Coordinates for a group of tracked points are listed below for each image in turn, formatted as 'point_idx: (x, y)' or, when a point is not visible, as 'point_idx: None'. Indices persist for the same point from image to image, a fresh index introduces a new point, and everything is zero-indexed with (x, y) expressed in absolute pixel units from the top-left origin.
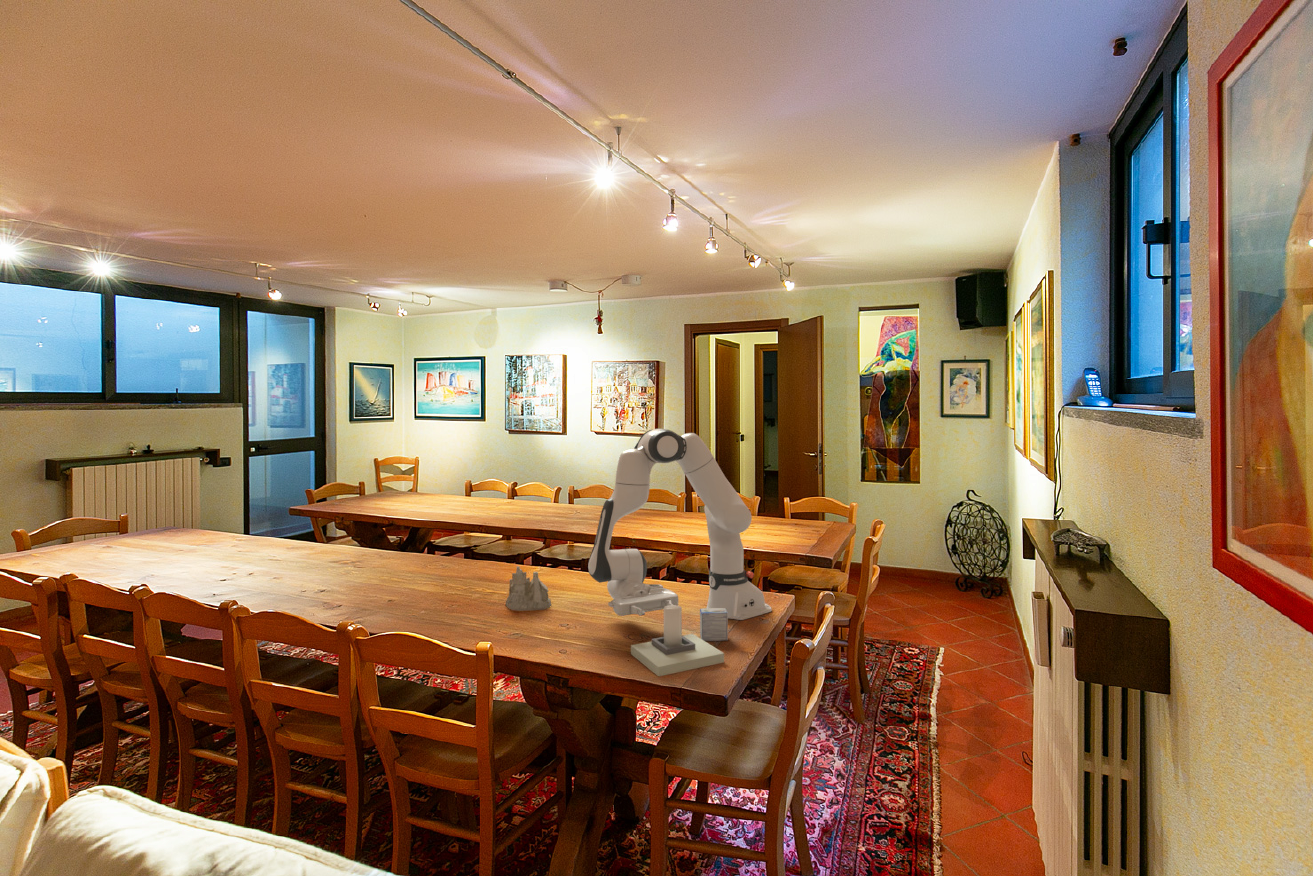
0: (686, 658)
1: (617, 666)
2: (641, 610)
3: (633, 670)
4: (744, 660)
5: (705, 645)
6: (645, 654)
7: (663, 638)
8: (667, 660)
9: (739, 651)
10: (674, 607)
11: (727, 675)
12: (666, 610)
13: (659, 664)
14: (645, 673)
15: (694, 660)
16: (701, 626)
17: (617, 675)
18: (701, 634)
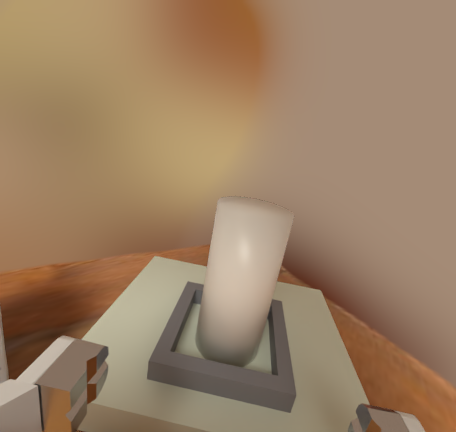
0: None
1: (434, 418)
2: (397, 411)
3: (373, 362)
4: (115, 260)
5: (141, 292)
6: (338, 351)
7: (241, 368)
8: (288, 296)
9: (63, 280)
10: (246, 205)
11: (197, 254)
12: (289, 212)
13: (314, 294)
14: (341, 332)
15: None
16: (2, 341)
17: (421, 365)
18: (5, 374)
